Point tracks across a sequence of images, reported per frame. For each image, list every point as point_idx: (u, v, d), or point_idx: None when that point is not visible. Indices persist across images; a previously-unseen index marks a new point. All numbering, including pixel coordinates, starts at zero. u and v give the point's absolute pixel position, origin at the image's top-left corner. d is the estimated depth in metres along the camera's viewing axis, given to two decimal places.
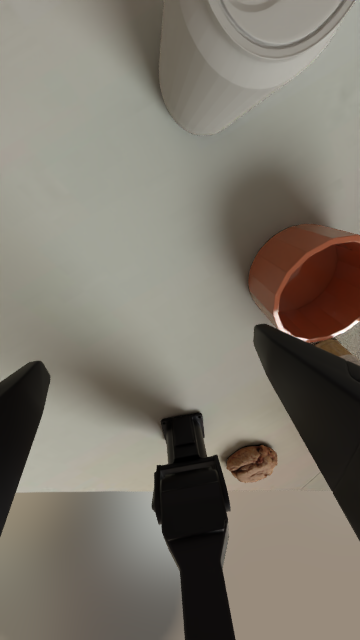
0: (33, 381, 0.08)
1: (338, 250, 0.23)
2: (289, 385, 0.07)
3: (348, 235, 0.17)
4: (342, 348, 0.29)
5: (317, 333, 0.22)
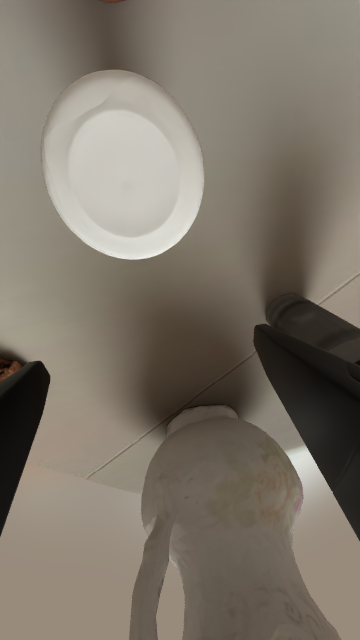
0: (33, 381, 0.08)
1: None
2: (289, 385, 0.07)
3: None
4: None
5: None
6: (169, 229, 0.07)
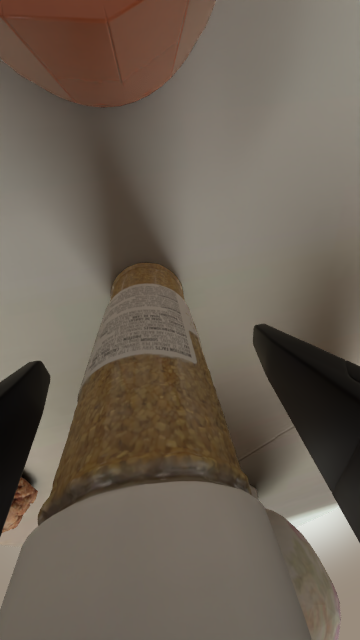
0: (33, 381, 0.08)
1: None
2: (288, 385, 0.07)
3: None
4: (172, 283, 0.12)
5: None
6: None
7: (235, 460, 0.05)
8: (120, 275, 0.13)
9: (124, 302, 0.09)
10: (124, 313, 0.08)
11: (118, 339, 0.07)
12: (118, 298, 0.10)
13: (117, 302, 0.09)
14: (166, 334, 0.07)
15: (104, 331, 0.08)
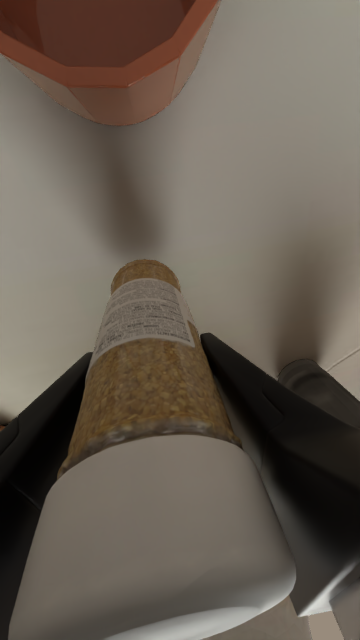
0: None
1: None
2: (221, 397, 0.07)
3: None
4: (170, 278, 0.12)
5: None
6: None
7: (230, 427, 0.05)
8: (120, 271, 0.13)
9: (125, 294, 0.10)
10: (127, 304, 0.09)
11: (122, 326, 0.07)
12: (119, 291, 0.10)
13: (119, 295, 0.10)
14: (166, 322, 0.08)
15: (108, 321, 0.08)
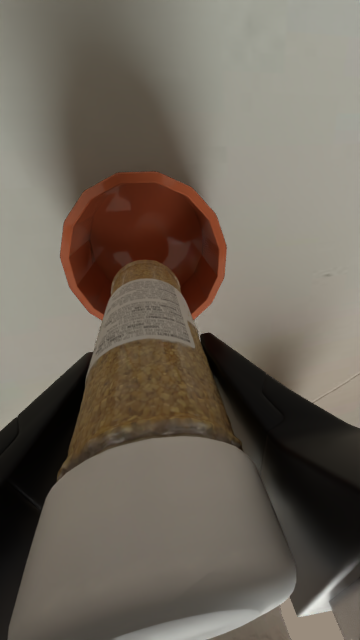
0: None
1: (202, 240, 0.18)
2: (221, 397, 0.07)
3: (181, 182, 0.12)
4: (170, 279, 0.12)
5: None
6: None
7: (230, 428, 0.05)
8: (120, 271, 0.13)
9: (125, 295, 0.10)
10: (127, 305, 0.09)
11: (122, 326, 0.07)
12: (120, 292, 0.10)
13: (119, 295, 0.10)
14: (166, 322, 0.08)
15: (108, 321, 0.08)
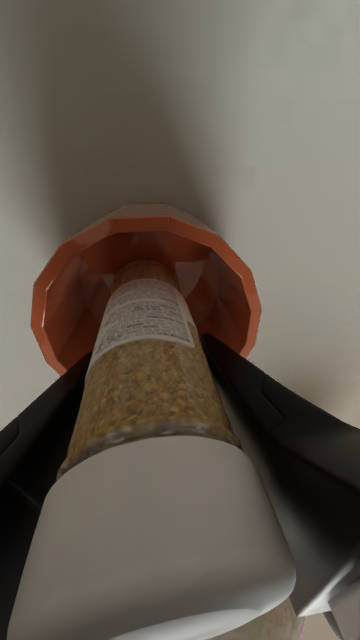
0: None
1: (220, 280, 0.15)
2: (221, 397, 0.07)
3: (204, 229, 0.08)
4: (169, 279, 0.12)
5: None
6: None
7: (230, 428, 0.05)
8: (120, 271, 0.13)
9: (125, 294, 0.10)
10: (126, 304, 0.09)
11: (121, 327, 0.07)
12: (119, 292, 0.10)
13: (118, 295, 0.10)
14: (166, 322, 0.08)
15: (108, 321, 0.08)
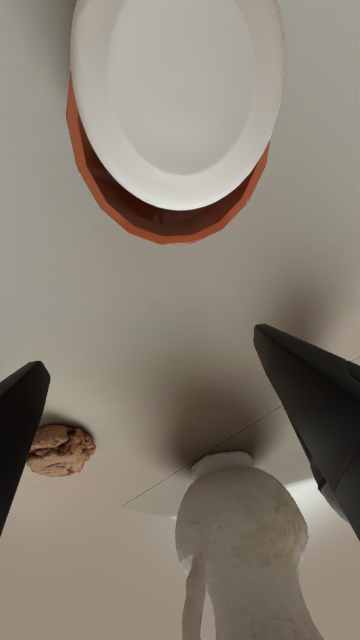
0: (33, 381, 0.08)
1: None
2: (289, 385, 0.07)
3: None
4: None
5: (151, 230, 0.14)
6: (232, 164, 0.05)
7: None
8: None
9: None
10: None
11: None
12: None
13: None
14: None
15: None
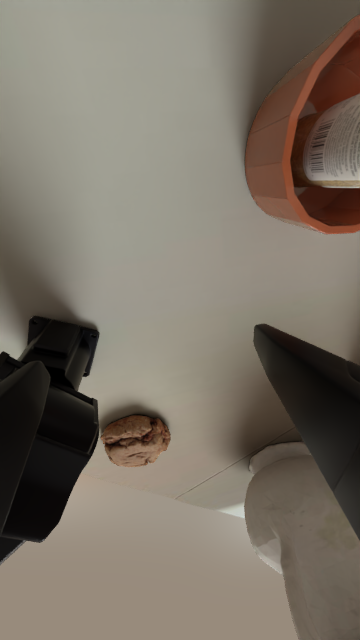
0: (33, 381, 0.08)
1: None
2: (289, 385, 0.07)
3: None
4: None
5: None
6: None
7: None
8: (298, 122, 0.16)
9: (356, 95, 0.12)
10: None
11: None
12: (340, 102, 0.12)
13: (344, 101, 0.12)
14: None
15: None
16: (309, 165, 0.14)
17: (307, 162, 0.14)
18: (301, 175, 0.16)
